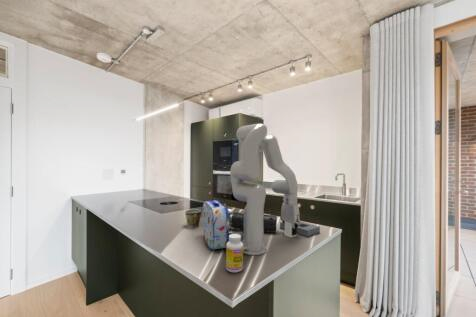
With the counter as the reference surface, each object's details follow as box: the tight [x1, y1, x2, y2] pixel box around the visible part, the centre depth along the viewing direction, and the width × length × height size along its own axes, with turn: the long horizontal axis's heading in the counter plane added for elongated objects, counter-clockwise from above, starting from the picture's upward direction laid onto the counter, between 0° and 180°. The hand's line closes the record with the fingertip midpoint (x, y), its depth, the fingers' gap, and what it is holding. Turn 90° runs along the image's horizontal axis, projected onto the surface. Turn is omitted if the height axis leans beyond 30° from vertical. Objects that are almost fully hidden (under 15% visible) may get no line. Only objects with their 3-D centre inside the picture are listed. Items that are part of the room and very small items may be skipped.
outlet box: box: [279, 221, 321, 238], centre depth 130 cm, size 12×20×4 cm, turn 38°
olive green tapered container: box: [184, 209, 202, 229], centre depth 136 cm, size 13×10×10 cm
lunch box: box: [201, 199, 232, 251], centre depth 110 cm, size 28×10×22 cm, turn 21°
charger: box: [284, 221, 297, 238], centre depth 122 cm, size 5×5×8 cm
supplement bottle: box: [225, 233, 244, 273], centre depth 84 cm, size 7×7×13 cm
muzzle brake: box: [229, 211, 278, 233], centre depth 130 cm, size 10×28×10 cm, turn 78°
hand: (290, 233), depth 122 cm, fingers closed on charger, 4 cm apart
